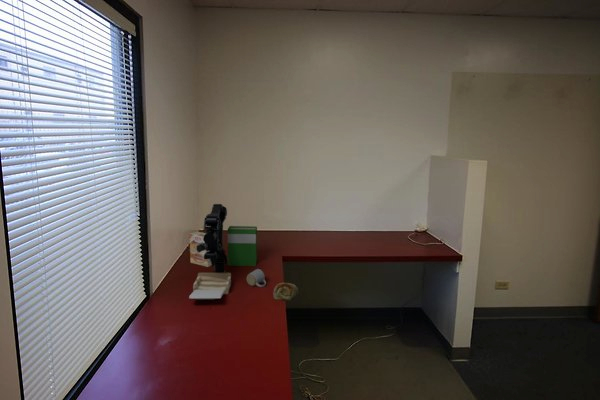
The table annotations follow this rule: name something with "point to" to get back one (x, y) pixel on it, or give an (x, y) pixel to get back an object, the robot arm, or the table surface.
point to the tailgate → (207, 294)
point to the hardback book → (242, 246)
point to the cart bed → (213, 282)
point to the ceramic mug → (256, 278)
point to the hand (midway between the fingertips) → (213, 265)
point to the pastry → (285, 291)
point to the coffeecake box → (197, 256)
